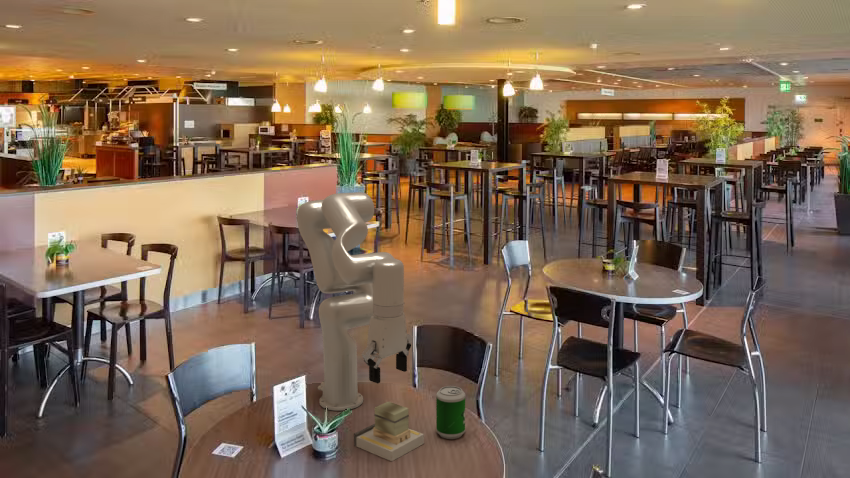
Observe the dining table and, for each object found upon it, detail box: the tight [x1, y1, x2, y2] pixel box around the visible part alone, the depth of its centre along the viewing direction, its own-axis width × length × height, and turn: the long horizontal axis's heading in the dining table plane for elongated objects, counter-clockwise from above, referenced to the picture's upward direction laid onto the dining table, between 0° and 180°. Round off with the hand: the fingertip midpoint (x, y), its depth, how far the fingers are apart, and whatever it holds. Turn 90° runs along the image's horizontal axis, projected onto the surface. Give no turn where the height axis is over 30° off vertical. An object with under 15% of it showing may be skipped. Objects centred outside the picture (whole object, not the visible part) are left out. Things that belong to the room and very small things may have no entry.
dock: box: [353, 423, 425, 462], centre depth 169 cm, size 13×12×3 cm
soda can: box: [435, 385, 466, 440], centre depth 174 cm, size 8×8×12 cm
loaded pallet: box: [373, 401, 410, 444], centre depth 167 cm, size 8×5×8 cm, turn 50°
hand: (388, 375), depth 166 cm, fingers open, 9 cm apart
